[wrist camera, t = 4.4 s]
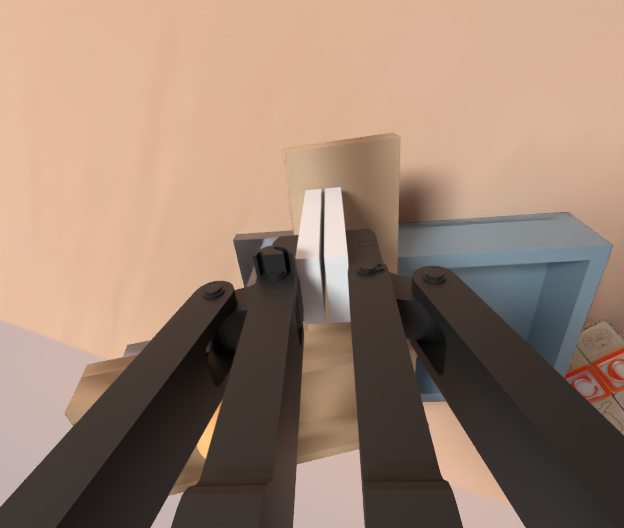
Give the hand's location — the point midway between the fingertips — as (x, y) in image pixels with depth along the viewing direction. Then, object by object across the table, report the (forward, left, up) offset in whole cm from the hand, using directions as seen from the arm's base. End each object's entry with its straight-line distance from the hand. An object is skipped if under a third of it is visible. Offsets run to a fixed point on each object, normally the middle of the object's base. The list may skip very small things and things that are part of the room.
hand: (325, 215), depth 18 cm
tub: (+12, +10, -9) cm, 18 cm away
